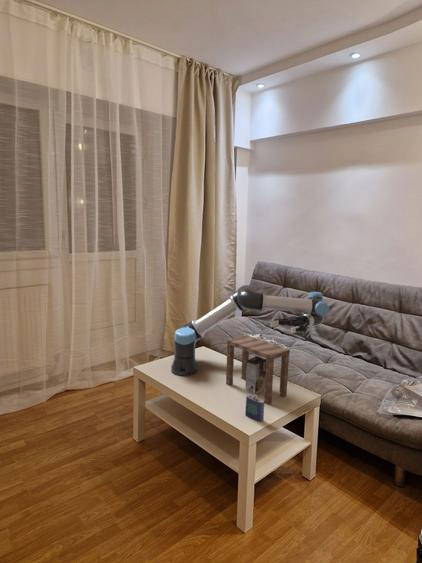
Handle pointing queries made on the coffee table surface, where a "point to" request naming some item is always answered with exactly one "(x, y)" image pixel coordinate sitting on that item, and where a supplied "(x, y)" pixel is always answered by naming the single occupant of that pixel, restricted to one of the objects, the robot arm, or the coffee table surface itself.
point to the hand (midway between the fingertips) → (280, 327)
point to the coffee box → (255, 375)
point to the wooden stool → (264, 351)
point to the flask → (254, 408)
